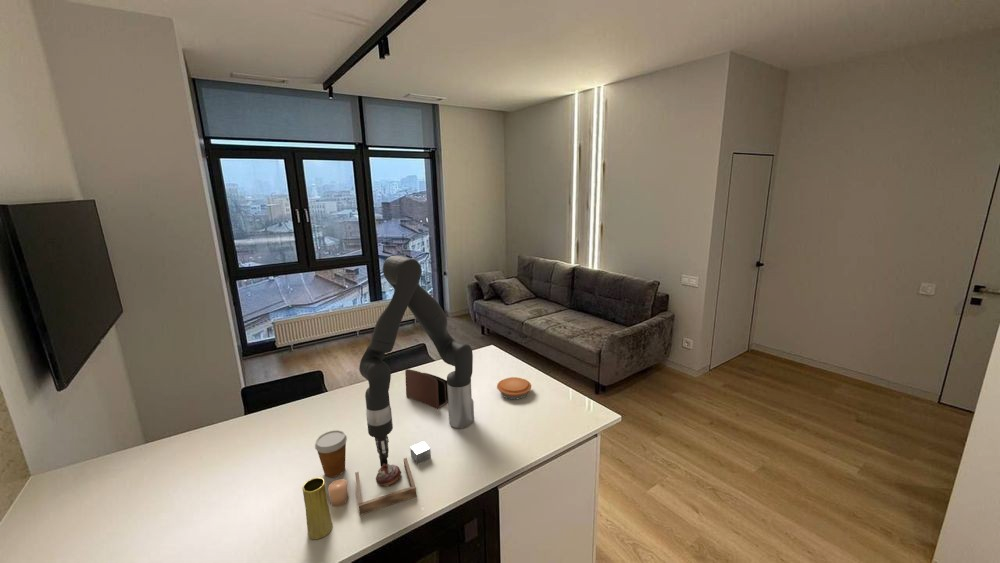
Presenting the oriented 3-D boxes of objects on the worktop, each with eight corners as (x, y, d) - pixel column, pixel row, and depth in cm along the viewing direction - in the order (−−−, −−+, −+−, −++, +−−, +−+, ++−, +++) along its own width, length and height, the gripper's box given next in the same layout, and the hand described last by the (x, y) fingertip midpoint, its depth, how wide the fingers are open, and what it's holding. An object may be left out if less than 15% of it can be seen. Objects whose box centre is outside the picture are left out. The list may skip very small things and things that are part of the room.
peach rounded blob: (348, 491, 114) (346, 477, 113) (349, 503, 110) (347, 488, 109) (330, 496, 112) (328, 482, 111) (330, 509, 108) (328, 494, 107)
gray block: (424, 451, 132) (423, 441, 131) (430, 458, 128) (430, 448, 127) (411, 457, 129) (410, 447, 128) (417, 465, 125) (416, 454, 124)
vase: (313, 521, 104) (306, 476, 101) (336, 519, 104) (329, 475, 101) (303, 540, 98) (296, 494, 95) (328, 538, 98) (321, 492, 95)
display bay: (407, 465, 125) (406, 457, 124) (416, 496, 112) (415, 487, 111) (356, 480, 119) (355, 472, 118) (359, 515, 106) (358, 506, 105)
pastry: (372, 477, 120) (370, 463, 119) (394, 466, 125) (392, 453, 124) (383, 491, 114) (381, 477, 113) (405, 479, 119) (404, 465, 118)
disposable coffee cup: (339, 483, 118) (334, 449, 115) (312, 479, 120) (307, 446, 117) (356, 462, 127) (352, 430, 124) (331, 459, 129) (326, 427, 126)
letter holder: (438, 410, 157) (436, 379, 154) (405, 396, 169) (403, 367, 166) (454, 399, 165) (452, 370, 162) (422, 387, 177) (420, 359, 174)
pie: (532, 401, 162) (532, 391, 161) (496, 402, 163) (496, 391, 161) (530, 384, 177) (530, 374, 176) (497, 384, 178) (497, 375, 177)
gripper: (394, 426, 115) (399, 474, 119) (388, 404, 127) (392, 449, 130) (368, 432, 112) (374, 482, 116) (365, 410, 124) (370, 456, 128)
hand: (384, 465), depth 123 cm, fingers closed
